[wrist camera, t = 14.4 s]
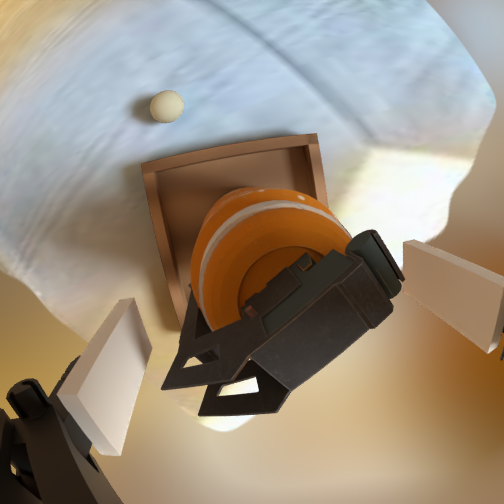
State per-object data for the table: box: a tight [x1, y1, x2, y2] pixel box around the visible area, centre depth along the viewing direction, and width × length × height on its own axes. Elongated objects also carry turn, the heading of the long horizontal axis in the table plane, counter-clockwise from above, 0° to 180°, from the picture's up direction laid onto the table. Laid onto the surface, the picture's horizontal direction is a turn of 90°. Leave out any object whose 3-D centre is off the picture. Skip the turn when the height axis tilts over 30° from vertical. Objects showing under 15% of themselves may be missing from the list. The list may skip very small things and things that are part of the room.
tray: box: [141, 133, 329, 330], centre depth 27 cm, size 18×16×3 cm
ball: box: [150, 90, 184, 123], centre depth 23 cm, size 3×3×3 cm
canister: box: [161, 187, 405, 416], centre depth 18 cm, size 9×11×20 cm
